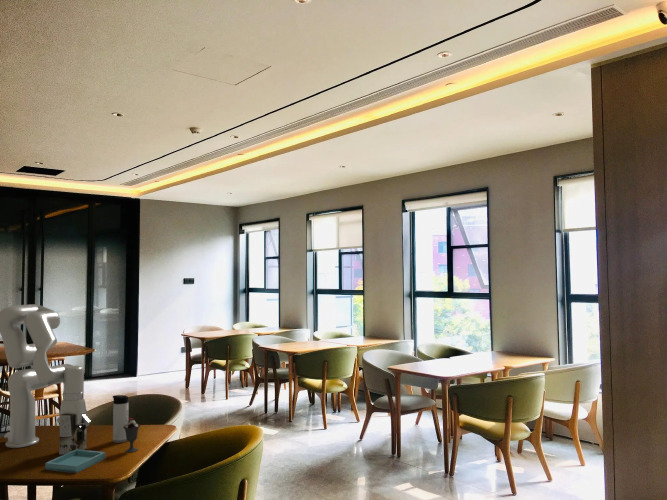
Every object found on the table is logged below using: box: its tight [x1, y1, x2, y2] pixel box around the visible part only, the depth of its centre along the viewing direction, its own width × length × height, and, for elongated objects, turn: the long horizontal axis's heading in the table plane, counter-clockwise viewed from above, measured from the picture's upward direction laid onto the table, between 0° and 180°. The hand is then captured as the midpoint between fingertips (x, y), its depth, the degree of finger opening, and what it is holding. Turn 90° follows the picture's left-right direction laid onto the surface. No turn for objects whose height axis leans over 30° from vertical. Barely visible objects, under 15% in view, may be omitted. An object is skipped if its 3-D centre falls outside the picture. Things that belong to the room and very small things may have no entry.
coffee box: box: [58, 409, 88, 455], centre depth 226 cm, size 9×6×16 cm
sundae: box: [123, 413, 141, 454], centre depth 227 cm, size 7×7×15 cm
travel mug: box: [112, 394, 129, 444], centre depth 240 cm, size 6×7×20 cm
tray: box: [44, 449, 107, 474], centre depth 211 cm, size 14×16×2 cm
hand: (73, 439), depth 226 cm, fingers closed on coffee box, 6 cm apart
